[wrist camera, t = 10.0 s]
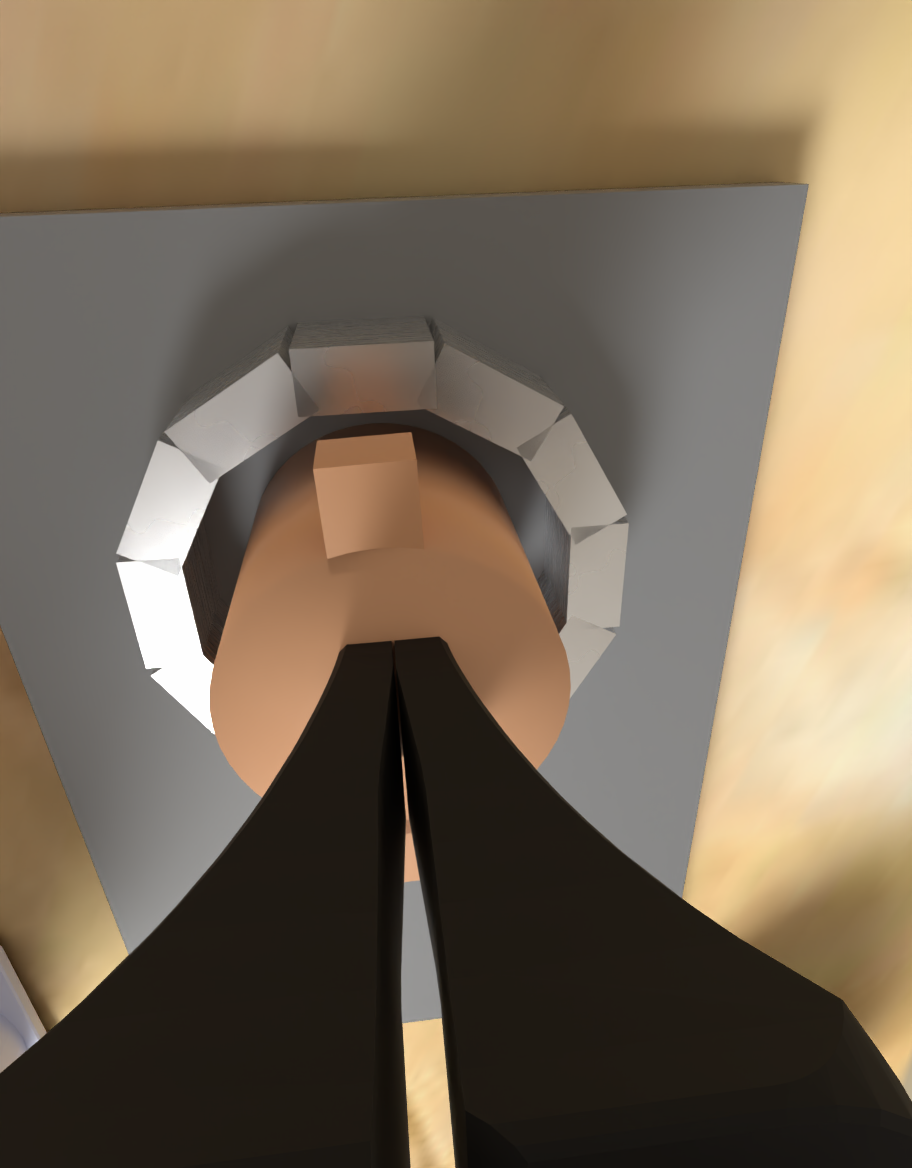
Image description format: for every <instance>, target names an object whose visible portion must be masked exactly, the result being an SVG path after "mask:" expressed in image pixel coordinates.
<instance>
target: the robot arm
mask: <svg viewBox="0 0 912 1168" xmlns="http://www.w3.org/2000/svg"><path fill="white" fill-rule="evenodd" d="M394 642H395V659H396V673H397V685H398V697H399V708H400V720H401V732H402V744H403V755H404V767H405V779H406V790H407V802H408V814H409V822H410V827H411V833H412V839H413V844H414V850H415V856H416V861H417V867H418V872H419V878H420V884H421V889H422V895H423V900H424V906H425V911H426V917H427V923H428V928H429V934H430V939H431V945H432V951H433V956H434V962H435V967H436V974H437V981H438V989H439V996H440V1003H441V1013H442V1024H443V1035H444V1046H445V1057H446V1068H447V1079H448V1090H449V1101H450V1112H451V1124H452V1135H453V1146H454V1157H455V1168H912V1101H911V1100H910V1098H909V1096H908V1094H907V1093H906V1091H905V1089H904V1087H903V1086H902V1084H901V1083H900V1081H899V1079H898V1078H897V1076H896V1075H895V1073H894V1072H893V1070H892V1069H891V1068H890V1066H889V1065H888V1063H887V1062H886V1060H885V1059H884V1057H883V1056H882V1054H881V1053H880V1051H879V1050H878V1049H877V1047H876V1046H875V1044H874V1043H873V1042H872V1040H871V1039H870V1037H869V1036H868V1035H867V1033H866V1032H865V1031H864V1029H863V1028H862V1026H861V1025H860V1024H859V1022H858V1021H857V1019H856V1018H855V1017H854V1015H853V1014H852V1013H851V1011H850V1010H849V1008H848V1007H847V1006H846V1004H845V1003H844V1001H843V1000H841V999H840V998H838V997H837V996H835V995H833V994H832V993H830V992H828V991H827V990H825V989H823V988H821V987H820V986H818V985H816V984H815V983H813V982H811V981H810V980H808V979H806V978H805V977H803V976H801V975H800V974H798V973H796V972H795V971H793V970H791V969H790V968H788V967H786V966H785V965H783V964H781V963H780V962H778V961H776V960H775V959H773V958H771V957H770V956H768V955H766V954H765V953H763V952H761V951H760V950H758V949H756V948H755V947H753V946H751V945H750V944H748V943H746V942H745V941H743V940H741V939H740V938H738V937H737V936H735V935H734V934H732V933H731V932H729V931H728V930H726V929H725V928H723V927H722V926H720V925H719V924H717V923H716V922H715V921H713V920H712V919H710V918H709V917H707V916H706V915H704V914H703V913H702V912H700V911H699V910H697V909H696V908H694V907H693V906H691V905H690V904H689V903H687V902H686V901H685V900H683V899H682V898H681V897H680V896H678V895H677V894H676V893H674V892H673V891H672V890H671V889H669V888H668V887H667V886H665V885H664V884H663V883H662V882H660V881H659V880H658V879H656V878H655V877H654V876H653V875H651V874H650V873H649V872H647V871H646V870H645V869H644V868H642V867H641V866H640V865H638V864H637V863H636V862H635V861H633V860H632V859H631V858H629V857H628V856H627V855H626V854H624V853H623V852H622V851H621V850H620V849H618V848H617V847H616V846H615V845H614V844H613V843H612V842H610V841H609V840H608V839H607V838H606V837H605V836H604V835H603V834H601V833H600V832H599V831H598V830H597V829H596V828H595V827H594V826H592V825H591V824H590V823H589V822H588V821H587V820H586V819H585V818H584V817H583V816H582V815H581V814H580V813H579V812H578V811H576V810H575V809H574V808H573V807H572V806H571V805H570V804H569V803H568V802H567V801H566V800H565V799H564V798H563V797H562V796H561V795H560V794H559V793H558V792H557V791H556V790H555V789H554V788H553V787H552V786H551V785H550V784H549V782H548V781H547V780H546V779H545V778H544V777H543V776H542V775H541V774H540V773H539V772H538V771H537V769H536V768H535V767H534V766H533V765H532V764H531V763H530V761H529V760H528V759H527V758H526V757H525V756H524V755H523V753H522V752H521V751H520V750H519V749H518V748H517V746H516V745H515V744H514V743H513V742H512V740H511V739H510V738H509V737H508V735H507V734H506V733H505V732H504V730H503V729H502V728H501V726H500V725H499V724H498V722H497V721H496V720H495V718H494V717H493V716H492V714H491V713H490V712H489V711H488V709H487V708H486V707H485V705H484V704H483V702H482V701H481V700H480V698H479V697H478V695H477V694H476V692H475V691H474V689H473V688H472V686H471V685H470V683H469V682H468V680H467V678H466V677H465V675H464V674H463V672H462V670H461V669H460V667H459V665H458V664H457V662H456V660H455V658H454V656H453V654H452V652H451V650H450V648H449V646H448V643H447V642H445V641H444V640H443V639H442V638H441V637H439V636H438V637H427V638H416V639H406V640H394ZM405 837H406V810H405V797H404V783H403V769H402V756H401V744H400V733H399V721H398V710H397V698H396V687H395V675H394V663H393V652H392V641H383V642H371V643H360V644H347V645H346V646H345V647H344V648H343V649H342V650H341V651H340V652H339V654H338V657H337V660H336V663H335V666H334V668H333V671H332V673H331V676H330V678H329V680H328V683H327V685H326V687H325V689H324V691H323V693H322V696H321V698H320V700H319V702H318V704H317V706H316V708H315V710H314V712H313V713H312V715H311V717H310V719H309V721H308V723H307V725H306V726H305V728H304V730H303V732H302V734H301V736H300V738H299V739H298V741H297V743H296V745H295V746H294V748H293V750H292V752H291V753H290V755H289V756H288V758H287V759H286V761H285V763H284V764H283V766H282V767H281V769H280V771H279V772H278V774H277V775H276V777H275V778H274V780H273V782H272V783H271V785H270V786H269V788H268V789H267V791H266V793H265V794H264V796H263V797H262V799H261V800H260V801H259V803H258V804H257V806H256V807H255V809H254V810H253V811H252V813H251V814H250V816H249V817H248V818H247V820H246V821H245V822H244V824H243V825H242V827H241V828H240V829H239V831H238V832H237V833H236V834H235V836H234V837H233V838H232V840H231V841H230V842H229V843H228V845H227V846H226V847H225V849H224V850H223V851H222V853H221V854H220V855H219V856H218V858H217V859H216V860H215V861H214V862H213V864H212V865H211V866H210V867H209V868H208V869H207V871H206V872H205V873H204V874H203V875H202V876H201V878H200V879H199V880H198V881H197V882H196V883H195V885H194V886H193V887H192V888H191V889H190V891H189V892H188V893H187V894H186V895H185V896H184V898H183V899H182V900H181V901H180V902H179V903H178V904H177V906H176V907H175V908H174V909H173V910H172V911H171V912H170V913H169V914H168V915H167V916H166V918H165V919H164V920H163V921H162V922H161V923H160V924H159V925H158V926H157V927H156V928H155V929H154V930H153V932H152V933H151V934H150V935H149V936H148V937H147V938H146V939H145V940H144V941H143V942H142V943H141V944H140V945H139V946H138V947H137V948H136V949H134V950H133V951H132V952H131V953H130V954H129V955H128V956H127V957H126V958H125V959H124V960H123V961H122V962H121V963H120V964H119V965H118V966H117V967H116V968H115V969H114V970H113V971H112V972H111V973H110V974H109V975H108V976H107V977H106V978H105V979H104V980H103V981H102V982H101V983H100V984H99V985H98V986H97V987H96V988H95V989H94V990H93V991H92V992H91V993H90V994H89V995H88V996H87V997H86V998H85V999H84V1000H83V1001H82V1002H81V1003H80V1004H79V1005H78V1006H77V1007H75V1008H74V1009H73V1010H72V1011H71V1012H70V1013H69V1014H68V1015H67V1016H66V1017H65V1018H64V1019H62V1020H61V1021H60V1022H59V1023H58V1024H57V1025H56V1026H55V1027H53V1028H52V1029H51V1030H50V1031H49V1032H48V1033H47V1032H46V1030H45V1028H44V1026H43V1025H42V1023H41V1021H40V1019H39V1017H38V1015H37V1013H36V1011H35V1009H34V1007H33V1005H32V1003H31V1001H30V999H29V998H28V996H27V994H26V992H25V990H24V988H23V986H22V984H21V982H20V980H19V978H18V976H17V974H16V973H15V971H14V969H13V967H12V965H11V963H10V961H9V959H8V957H7V955H6V953H5V951H4V949H3V948H2V947H1V945H0V1168H410V1152H409V1134H408V1116H407V1099H406V1081H405V1063H404V1045H403V1027H402V1004H401V965H402V934H403V902H404V871H405Z"/></svg>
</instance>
